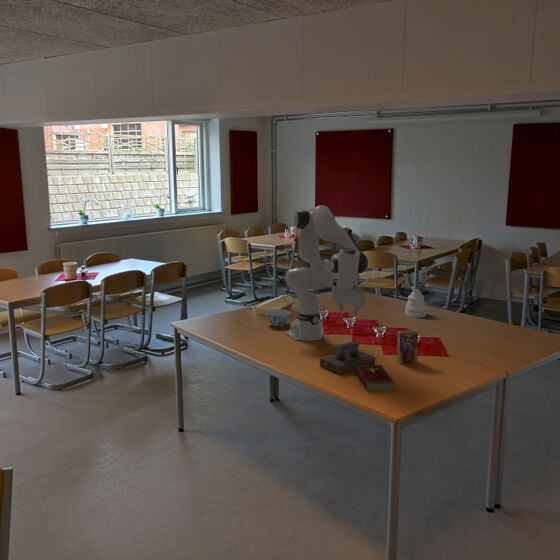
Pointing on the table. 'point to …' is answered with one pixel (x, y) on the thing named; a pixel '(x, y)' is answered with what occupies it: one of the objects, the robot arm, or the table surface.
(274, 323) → the chinaware
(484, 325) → the table surface
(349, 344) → the grey u-shaped block
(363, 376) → the hardcover book
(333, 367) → the wooden board with holes
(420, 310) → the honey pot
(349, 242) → the robot arm
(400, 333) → the candy box
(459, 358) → the table surface
